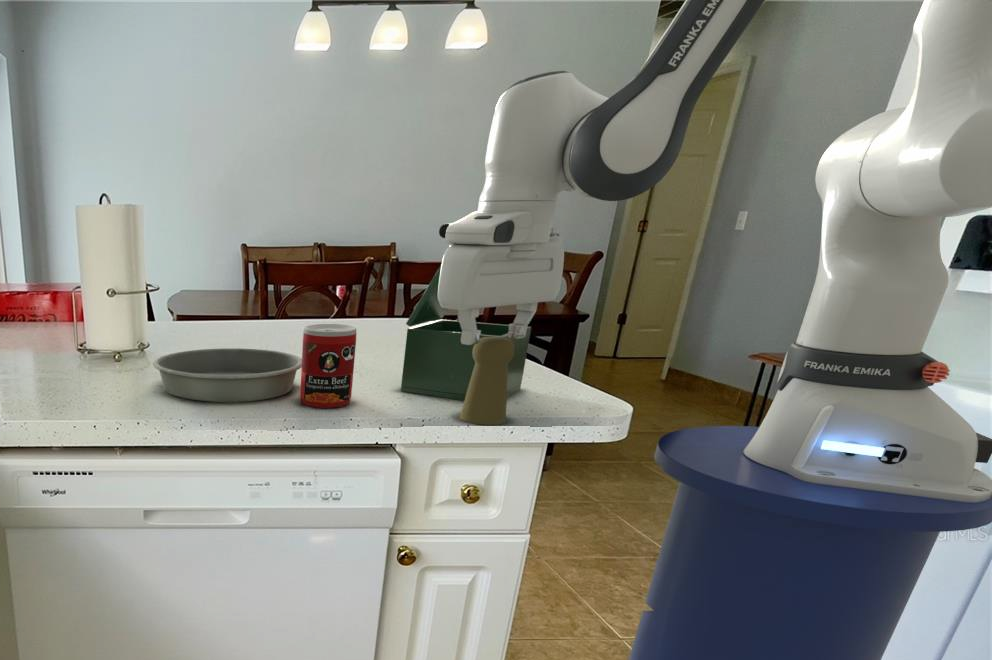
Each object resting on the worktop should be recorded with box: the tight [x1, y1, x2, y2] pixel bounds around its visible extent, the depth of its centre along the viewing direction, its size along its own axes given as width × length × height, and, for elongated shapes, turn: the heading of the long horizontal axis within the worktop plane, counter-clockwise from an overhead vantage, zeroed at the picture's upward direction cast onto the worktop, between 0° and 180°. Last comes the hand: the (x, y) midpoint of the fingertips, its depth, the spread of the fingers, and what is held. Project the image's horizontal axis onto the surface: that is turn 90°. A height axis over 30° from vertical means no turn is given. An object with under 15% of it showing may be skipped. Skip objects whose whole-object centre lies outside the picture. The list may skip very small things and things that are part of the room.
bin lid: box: [405, 222, 453, 328], centre depth 110 cm, size 16×13×5 cm
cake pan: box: [152, 347, 302, 403], centre depth 117 cm, size 25×25×4 cm
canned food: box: [299, 323, 357, 409], centre depth 106 cm, size 8×8×11 cm
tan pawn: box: [459, 337, 515, 426], centre depth 96 cm, size 6×6×11 cm
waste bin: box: [400, 318, 532, 401], centre depth 112 cm, size 15×13×10 cm
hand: (493, 340), depth 94 cm, fingers open, 8 cm apart
